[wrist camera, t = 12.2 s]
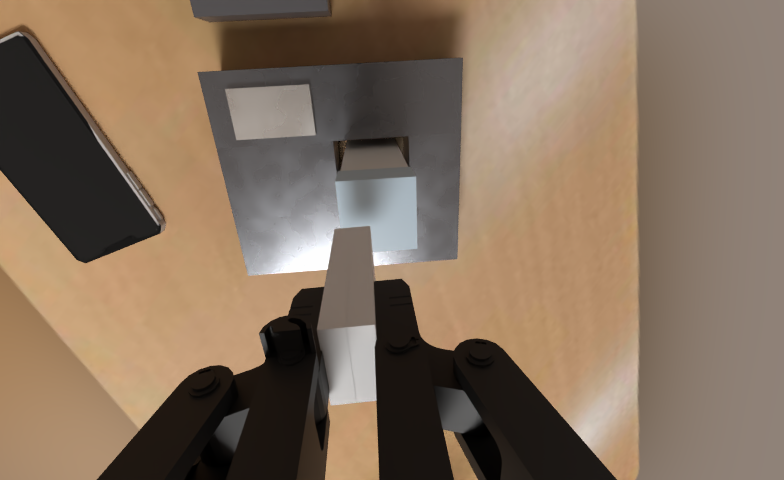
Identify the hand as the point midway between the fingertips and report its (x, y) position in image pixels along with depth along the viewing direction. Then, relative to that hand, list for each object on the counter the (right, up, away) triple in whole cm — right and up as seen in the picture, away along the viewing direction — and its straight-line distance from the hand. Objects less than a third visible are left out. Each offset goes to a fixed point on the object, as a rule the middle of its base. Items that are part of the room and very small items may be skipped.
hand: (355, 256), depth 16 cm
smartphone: (-23, +7, +12) cm, 27 cm away
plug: (0, +7, +13) cm, 15 cm away
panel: (-2, +7, +13) cm, 15 cm away
